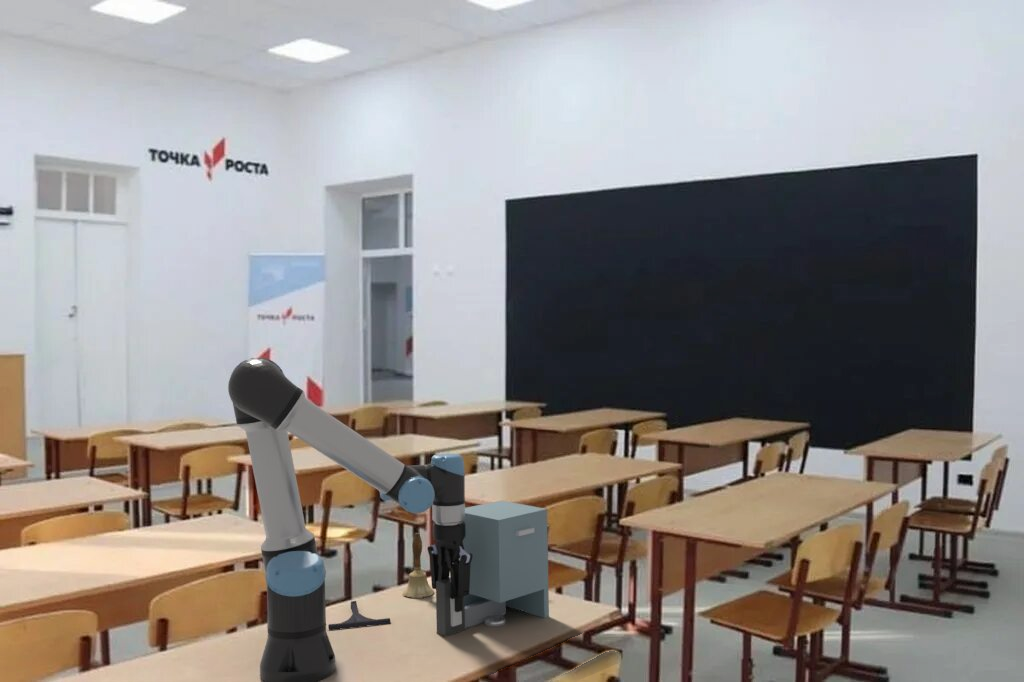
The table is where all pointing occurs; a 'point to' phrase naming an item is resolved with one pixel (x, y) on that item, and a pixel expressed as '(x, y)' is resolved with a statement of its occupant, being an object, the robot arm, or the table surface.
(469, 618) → the grey l-bracket
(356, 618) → the dark squeegee
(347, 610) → the table surface
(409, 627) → the table surface
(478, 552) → the cabinet
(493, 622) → the steel token
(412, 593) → the hand bell
